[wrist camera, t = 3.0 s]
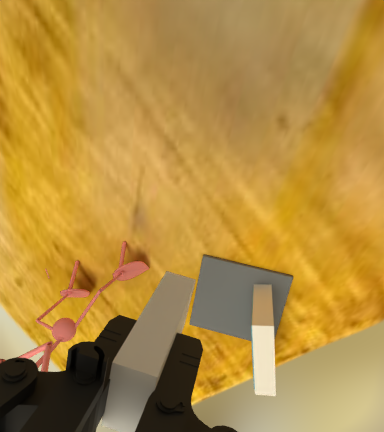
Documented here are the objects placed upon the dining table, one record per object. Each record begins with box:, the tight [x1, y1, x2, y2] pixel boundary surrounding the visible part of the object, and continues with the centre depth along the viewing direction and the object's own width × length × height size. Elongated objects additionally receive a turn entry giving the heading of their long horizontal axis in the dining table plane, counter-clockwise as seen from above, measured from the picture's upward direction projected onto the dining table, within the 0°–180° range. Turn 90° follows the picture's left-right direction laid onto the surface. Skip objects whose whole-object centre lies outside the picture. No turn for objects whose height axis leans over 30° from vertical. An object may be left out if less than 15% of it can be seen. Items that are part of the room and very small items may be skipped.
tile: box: [251, 284, 276, 396], centre depth 46 cm, size 10×3×10 cm, turn 5°
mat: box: [190, 255, 293, 341], centre depth 51 cm, size 12×13×1 cm
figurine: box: [0, 242, 149, 372], centre depth 39 cm, size 15×26×35 cm, turn 115°
